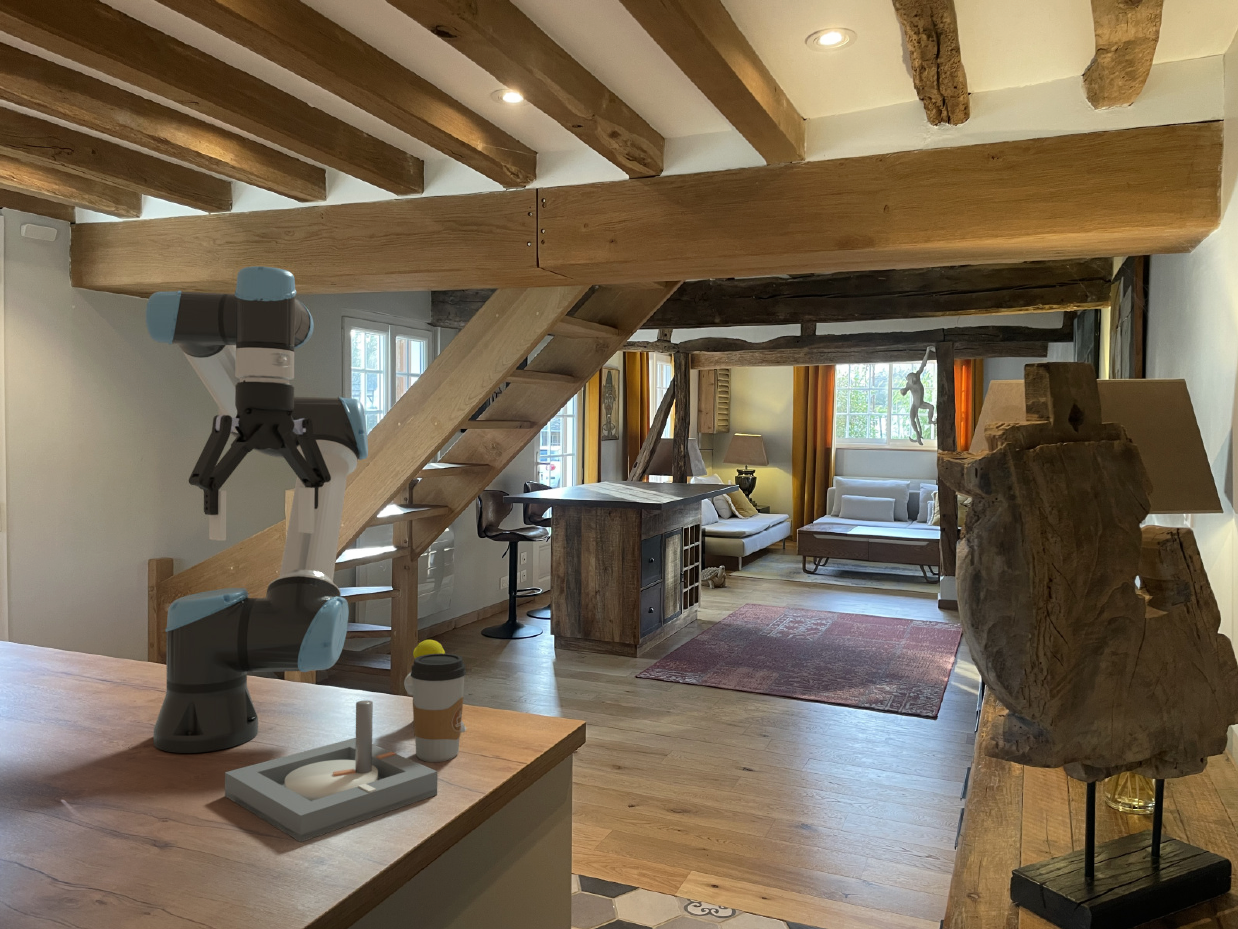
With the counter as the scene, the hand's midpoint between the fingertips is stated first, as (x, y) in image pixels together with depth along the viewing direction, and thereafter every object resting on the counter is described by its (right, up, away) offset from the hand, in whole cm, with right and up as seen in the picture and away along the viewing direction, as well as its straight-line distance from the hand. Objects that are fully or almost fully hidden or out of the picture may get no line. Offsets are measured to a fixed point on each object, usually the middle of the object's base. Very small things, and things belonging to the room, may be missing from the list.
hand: (263, 536), depth 122 cm
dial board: (+10, -35, -2) cm, 36 cm away
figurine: (+18, -35, +25) cm, 47 cm away
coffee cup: (+21, -35, +13) cm, 43 cm away
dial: (+10, -34, -2) cm, 35 cm away
